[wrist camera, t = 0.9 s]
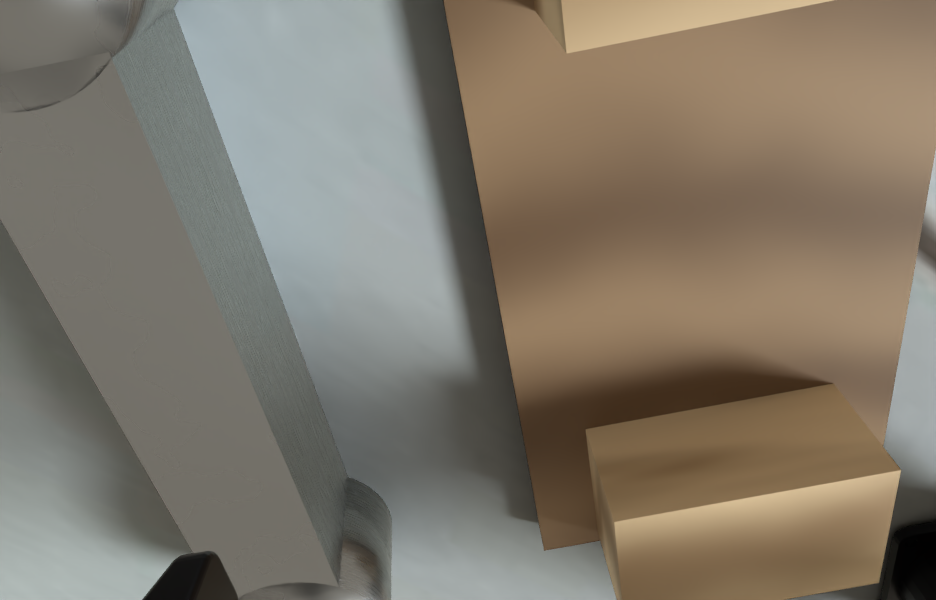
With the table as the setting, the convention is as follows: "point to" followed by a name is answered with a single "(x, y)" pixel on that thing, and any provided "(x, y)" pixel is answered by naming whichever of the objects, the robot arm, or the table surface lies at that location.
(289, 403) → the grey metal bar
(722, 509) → the rack
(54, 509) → the table surface
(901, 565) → the robot arm
